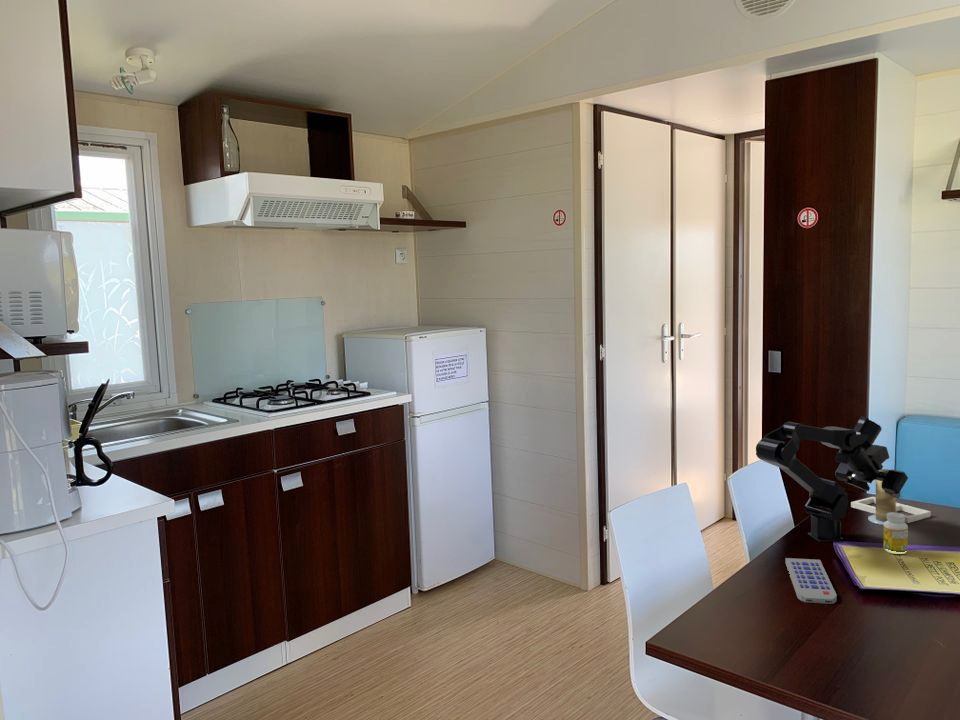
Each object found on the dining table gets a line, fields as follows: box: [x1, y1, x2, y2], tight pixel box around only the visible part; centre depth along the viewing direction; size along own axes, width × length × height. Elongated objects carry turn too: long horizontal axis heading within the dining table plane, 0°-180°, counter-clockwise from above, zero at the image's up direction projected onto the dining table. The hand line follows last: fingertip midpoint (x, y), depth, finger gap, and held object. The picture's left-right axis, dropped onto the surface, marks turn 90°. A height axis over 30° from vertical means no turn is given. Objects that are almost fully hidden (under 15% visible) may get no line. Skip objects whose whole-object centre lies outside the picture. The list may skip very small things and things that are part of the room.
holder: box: [850, 496, 932, 524], centre depth 218 cm, size 10×18×2 cm, turn 26°
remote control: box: [785, 557, 838, 605], centre depth 172 cm, size 8×23×2 cm, turn 165°
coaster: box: [867, 514, 906, 526], centre depth 211 cm, size 9×9×1 cm
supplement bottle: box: [883, 512, 909, 552], centre depth 188 cm, size 5×5×10 cm
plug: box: [875, 468, 897, 522], centre depth 210 cm, size 5×5×14 cm
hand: (883, 493), depth 209 cm, fingers open, 9 cm apart
